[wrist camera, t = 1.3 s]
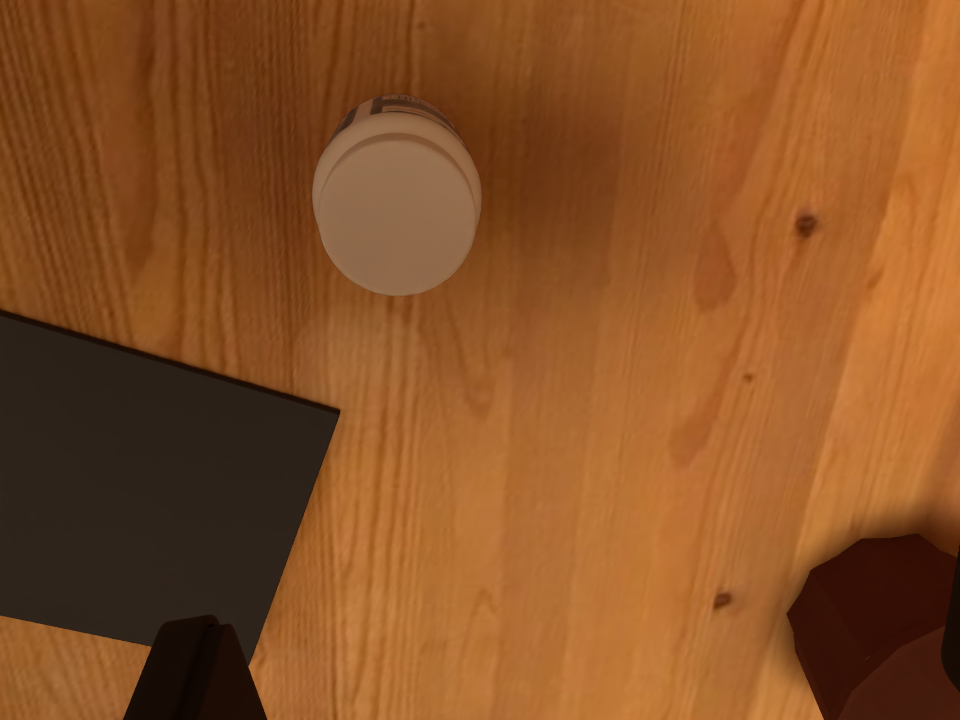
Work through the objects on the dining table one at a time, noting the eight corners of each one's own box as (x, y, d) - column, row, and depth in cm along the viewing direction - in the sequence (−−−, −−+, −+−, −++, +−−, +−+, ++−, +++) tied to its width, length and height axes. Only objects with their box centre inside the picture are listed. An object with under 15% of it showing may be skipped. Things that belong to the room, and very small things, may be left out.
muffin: (864, 717, 41) (996, 917, 32) (714, 643, 37) (814, 843, 28) (1034, 565, 37) (1237, 742, 28) (886, 468, 34) (1062, 633, 25)
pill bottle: (374, 252, 28) (363, 342, 20) (303, 134, 26) (261, 184, 18) (489, 191, 27) (523, 259, 19) (425, 65, 25) (435, 87, 17)
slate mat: (-79, 592, 32) (-85, 598, 31) (-39, 298, 27) (-45, 302, 26) (250, 660, 35) (248, 666, 35) (340, 410, 30) (339, 414, 30)
